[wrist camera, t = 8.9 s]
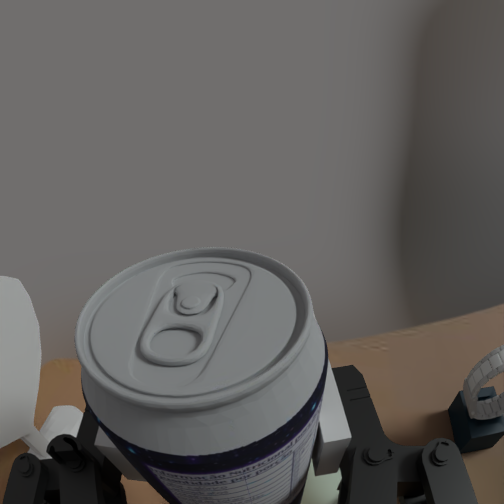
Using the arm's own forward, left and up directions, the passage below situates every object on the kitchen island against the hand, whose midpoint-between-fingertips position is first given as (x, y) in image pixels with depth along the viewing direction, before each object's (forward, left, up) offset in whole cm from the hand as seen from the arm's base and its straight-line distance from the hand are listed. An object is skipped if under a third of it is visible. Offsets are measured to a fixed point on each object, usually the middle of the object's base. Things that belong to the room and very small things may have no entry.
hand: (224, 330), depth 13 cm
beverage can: (+3, +4, -7) cm, 9 cm away
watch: (-18, +12, -18) cm, 28 cm away
